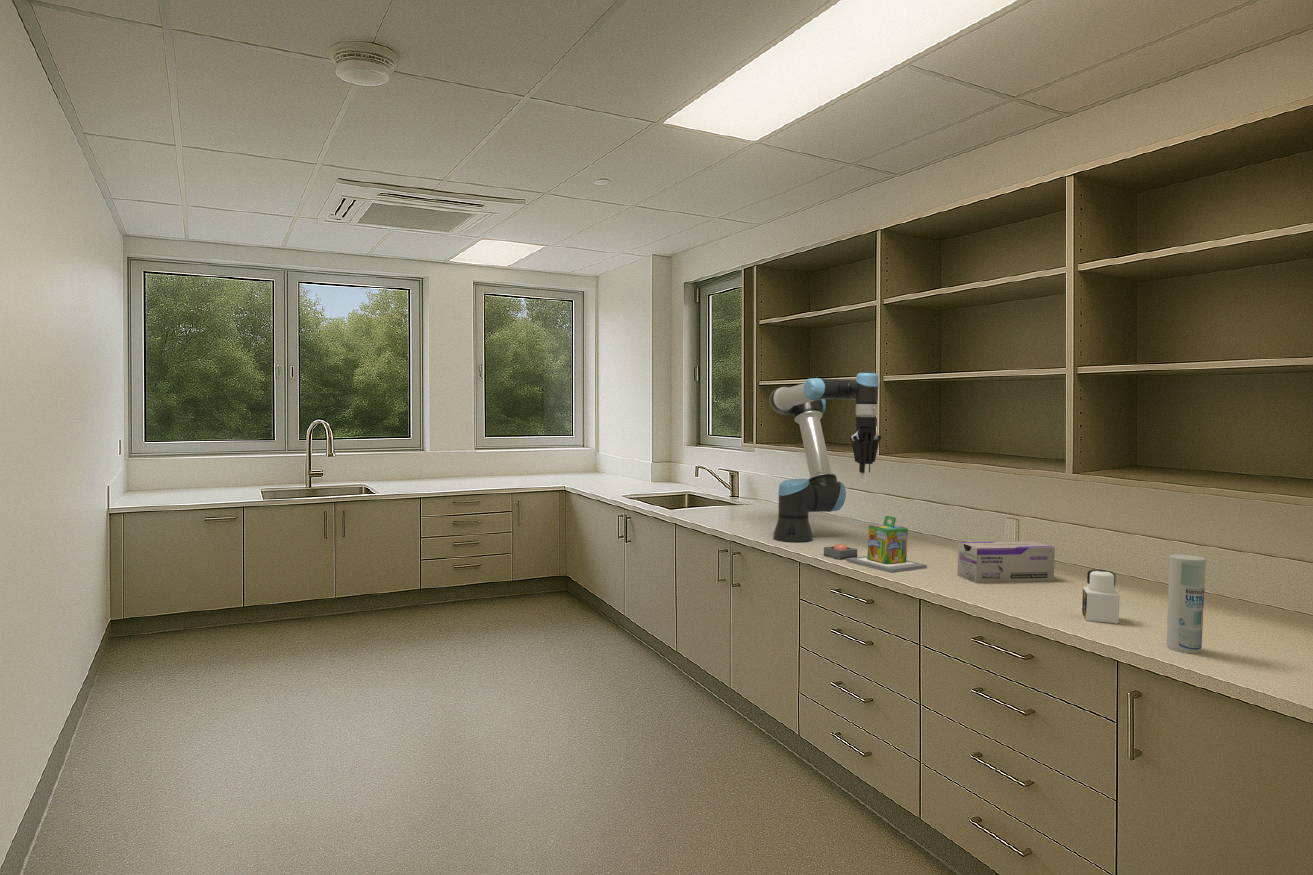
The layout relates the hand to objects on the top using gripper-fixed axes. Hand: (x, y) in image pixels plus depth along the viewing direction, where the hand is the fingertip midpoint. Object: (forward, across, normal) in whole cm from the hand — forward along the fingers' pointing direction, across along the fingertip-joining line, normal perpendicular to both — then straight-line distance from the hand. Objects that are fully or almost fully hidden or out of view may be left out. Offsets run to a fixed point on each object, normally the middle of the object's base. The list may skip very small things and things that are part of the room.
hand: (864, 481), depth 280 cm
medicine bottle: (+25, -9, -95) cm, 99 cm away
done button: (+24, -15, -5) cm, 29 cm away
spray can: (+24, -15, -118) cm, 122 cm away
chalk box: (+24, -10, -22) cm, 34 cm away
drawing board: (+25, -10, -22) cm, 35 cm away
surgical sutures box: (+25, +9, -53) cm, 59 cm away
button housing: (+25, -15, -5) cm, 29 cm away
